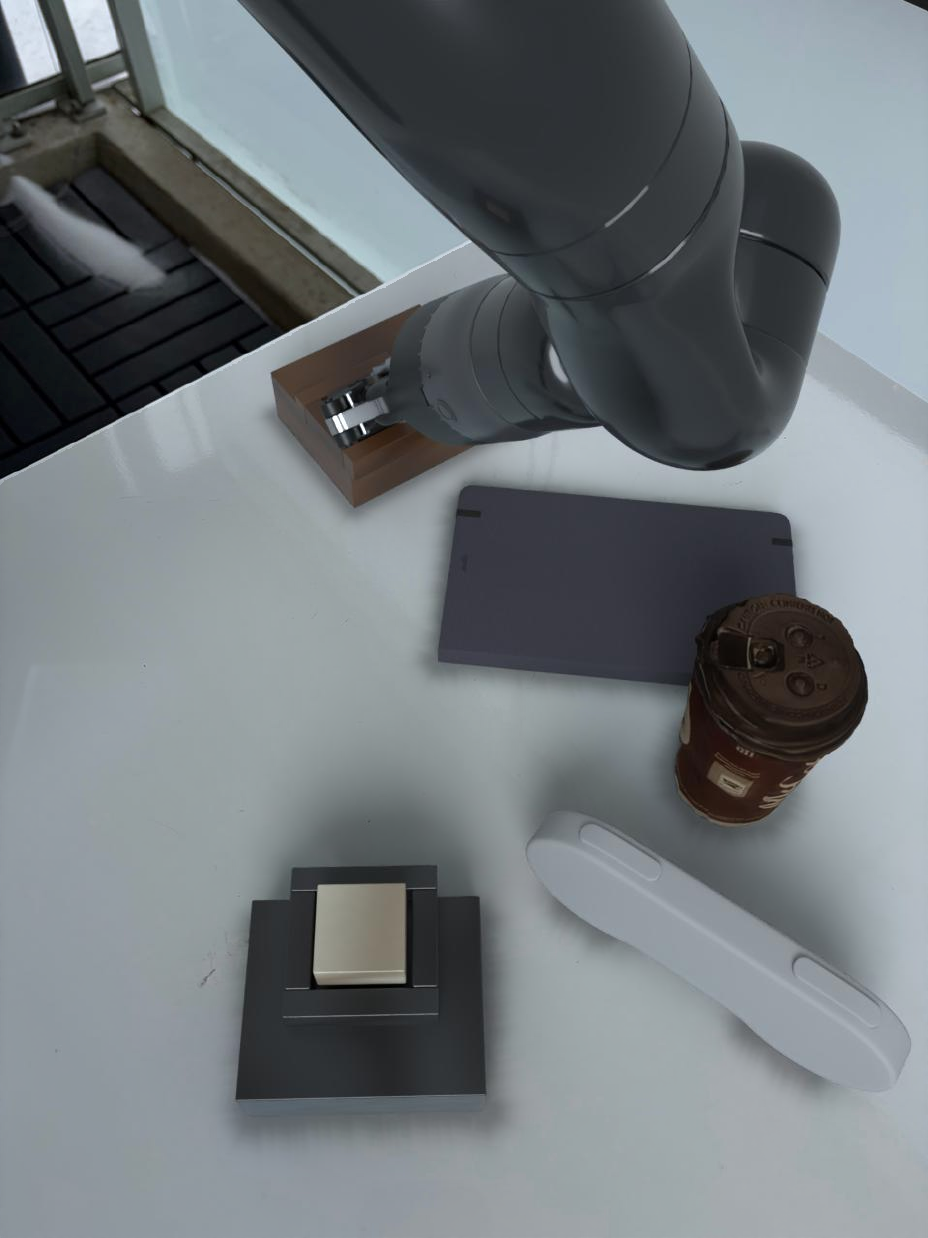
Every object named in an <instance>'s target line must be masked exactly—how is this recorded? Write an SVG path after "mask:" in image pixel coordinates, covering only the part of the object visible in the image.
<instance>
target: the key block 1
mask: <svg viewBox="0 0 928 1238" xmlns="http://www.w3.org/2000/svg"><path fill="white" fill-rule="evenodd" d="M421 306H422V305H421V304H420V303H418V304H416V305H413V306H412V307H409V308H408V309H406V310H404V311H401V312H399V313H396V314H394V315H392V316H390V317H388V318H386V319H383V320H381V321H379V322H377V323H375V324H372V325H369V326H368V327H366V328H364V329H362V330H360V331H357V332H355V333H353V334H351V335H348V336H347V337H345V338H342V339H339V340H338V341H335V342H333V343H330V344H329V345H327V346H325V347H322V348H321V349H318V350H315V351H313V352H311V353H310V354H309V353H308V354H307V355H305V356H302V357H300V358H298V359H296V360H294V361H292V362H290V363H287V364H285V365H283V366H281V367H279V368H276V369H274V370H272V371H271V372H270V373H269V374H270V379H271V385H272V391H273V396H274V401H275V406H276V413H277V417H278V418H279V420H280V421H281V422H282V424H283V425H285V427H286V428H287V429H288V430H289V432H290V433H291V434H292V435H293V437H295V439H296V440H297V441H298V442H299V444H300V445H301V446H302V447H303V449H304V450H305V451H306V452H307V453H308V454H309V456H310V457H311V458H312V459H313V460H314V461H315V463H316V464H317V465H318V466H319V468H320V469H321V470H322V471H323V473H324V474H325V475H326V476H327V478H329V480H330V481H331V482H332V483H333V484H334V486H335V487H336V488H337V489H338V491H339V492H340V493H341V494H342V495H343V497H344V498H345V499H346V500H347V501H348V502H349V504H350V505H351V506H352V507H353V508H354V509H356V508H359V507H360V506H362V505H364V504H366V503H368V502H369V501H372V500H374V499H375V498H377V497H379V496H381V495H383V494H385V493H387V492H389V491H391V490H394V489H395V488H396V487H398V486H400V485H403V484H404V483H406V482H408V481H410V480H412V479H414V478H416V477H418V476H420V475H421V474H424V473H425V472H427V471H429V470H432V469H433V468H435V467H437V466H438V465H441V464H442V463H444V462H446V461H449V460H451V459H452V458H454V457H456V456H458V455H460V454H461V453H464V452H466V451H467V450H470V449H471V448H474V447H475V446H476V445H473V446H450V445H445V444H442V443H439V442H436V441H434V440H432V439H430V438H428V437H426V436H425V435H423V434H422V433H420V432H419V431H418V430H416V429H415V428H414V427H412V426H411V425H410V424H409V423H402V424H398V423H397V424H395V425H393V426H391V427H389V428H387V429H385V430H383V431H381V432H379V433H377V434H375V435H373V436H371V437H369V438H367V439H365V440H363V441H361V442H358V441H355V442H353V443H354V445H352V446H350V447H348V448H345V446H344V447H342V448H338V447H337V445H336V442H335V440H334V438H333V435H332V434H331V432H330V430H329V428H328V426H327V424H326V422H325V419H324V417H323V415H322V412H321V410H320V408H319V406H320V405H321V404H323V403H324V400H326V395H327V394H329V393H332V392H334V391H336V390H338V389H340V388H342V387H344V386H346V385H348V384H350V383H352V382H355V381H357V380H359V379H361V378H363V377H365V376H367V375H369V374H370V373H372V372H373V367H375V366H377V365H379V364H382V363H384V362H385V360H386V359H387V358H389V357H391V352H392V348H393V344H394V341H395V339H396V336H397V334H398V332H399V330H400V329H401V327H402V325H403V324H404V323H405V321H406V320H407V319H408V318H409V317H410V315H411V314H412V313H414V312H415V311H416V310H417V309H418V308H420V307H421Z"/></svg>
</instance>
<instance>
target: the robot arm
mask: <svg viewBox="0 0 928 1238" xmlns="http://www.w3.org/2000/svg"><path fill="white" fill-rule="evenodd" d="M236 1H237V2H238V3H239V4H240V5H241V7H242V8H244V9H245V11H246V12H247V13H248V14H249V15H250V16H251V17H252V18H253V19H254V21H255V22H257V24H259V25H260V26H261V28H262V29H263V30H264V31H265V32H266V33H267V34H268V35H269V36H270V37H271V38H272V39H273V40H274V41H275V43H277V44H278V46H279V47H280V48H282V50H283V51H284V52H285V53H286V54H287V55H288V56H289V58H291V60H292V61H294V63H295V64H296V65H297V66H298V67H299V68H300V70H302V72H303V73H305V75H306V76H307V77H308V78H309V79H310V80H311V81H312V82H313V83H314V85H315V86H316V87H317V88H318V89H319V90H320V91H321V92H322V94H324V96H325V97H326V98H327V99H328V100H329V102H331V103H332V104H333V106H335V107H336V108H337V110H338V111H340V113H341V114H342V115H343V117H345V118H346V119H347V121H348V122H350V124H351V125H352V126H353V127H354V128H355V129H356V131H357V132H359V133H360V134H361V136H363V137H364V138H365V140H367V142H368V143H369V144H370V145H371V146H372V147H373V148H374V149H375V150H376V151H377V152H378V153H379V155H380V156H382V158H383V159H384V160H385V161H387V163H388V164H389V165H390V166H391V167H392V168H393V169H394V170H395V171H396V172H397V173H398V174H399V175H400V176H401V177H402V178H403V179H404V180H405V181H406V182H407V183H408V184H409V186H411V188H413V189H414V190H415V191H416V192H417V193H418V194H419V195H420V196H421V197H422V198H423V199H425V200H426V202H428V203H429V204H430V206H432V208H434V209H435V210H436V211H437V213H439V214H440V215H442V217H443V218H445V219H446V220H447V221H448V223H450V224H452V225H453V227H455V229H457V230H458V231H459V232H460V233H461V234H462V235H463V236H464V237H466V238H467V239H468V240H470V242H472V243H473V244H474V245H475V246H477V248H478V249H479V250H481V251H482V252H483V253H484V254H485V255H487V256H488V258H490V259H492V261H493V262H494V263H496V264H497V265H498V266H499V267H500V268H501V269H502V270H504V271H505V272H506V273H502V274H497V275H493V276H490V277H487V278H485V279H482V280H479V281H477V282H474V283H472V284H469V285H467V286H465V287H462V288H460V289H457V290H455V291H452V292H450V293H448V294H445V295H443V296H440V297H437V298H436V299H433V300H431V301H428V302H426V303H424V304H423V305H421V307H420V308H418V309H417V310H416V311H415V312H414V313H412V314H411V315H410V317H409V318H408V319H407V320H406V321H405V323H404V324H403V325H402V327H401V329H400V330H399V332H398V334H397V336H396V339H395V341H394V344H393V348H392V352H391V357H389V358H387V359H386V360H385V362H384V363H382V364H379V365H377V366H375V367H373V372H372V373H370V374H369V375H367V376H365V377H363V378H361V379H359V380H357V381H355V382H352V383H350V384H348V387H347V388H345V389H344V390H342V391H341V392H339V393H338V394H336V395H335V396H333V397H331V398H328V399H326V400H324V403H323V404H321V405H320V406H319V408H320V410H321V412H322V415H323V417H324V419H325V422H326V424H327V426H328V428H329V430H330V432H331V434H332V435H333V438H334V440H335V442H336V445H337V447H338V448H342V447H344V446H345V448H348V447H350V446H352V445H354V443H353V442H355V441H357V440H358V439H359V438H360V437H362V436H364V435H366V434H368V433H370V429H371V428H372V427H374V426H375V424H377V423H379V424H381V425H384V426H388V425H392V424H395V423H398V424H402V423H409V424H410V425H411V426H412V427H414V428H415V429H416V430H418V431H419V432H420V433H422V434H423V435H425V436H426V437H428V438H430V439H432V440H434V441H436V442H439V443H442V444H445V445H450V446H473V445H475V446H482V445H494V444H503V443H510V442H511V443H512V442H514V443H515V442H523V441H528V440H535V439H538V438H540V437H543V436H546V435H548V434H549V435H550V434H551V433H556V432H557V433H558V432H565V431H566V432H567V431H575V430H587V429H593V428H599V427H602V428H603V429H605V431H607V433H609V434H610V435H611V436H612V437H614V438H615V439H616V440H618V441H619V442H620V443H621V444H623V445H624V446H625V447H627V448H629V449H630V450H632V451H633V452H635V453H637V454H638V455H640V456H643V457H644V458H646V459H649V460H651V461H653V462H656V463H658V464H660V465H663V466H667V467H670V468H674V469H679V470H684V471H693V472H713V471H714V472H715V471H721V470H726V469H731V468H734V467H737V466H740V465H742V464H744V463H746V462H749V461H750V460H752V459H755V458H757V457H758V456H760V455H761V454H762V453H764V452H765V451H766V450H767V449H769V448H770V447H771V446H772V445H773V444H774V443H775V442H776V441H777V440H778V439H779V438H780V436H782V434H783V433H784V432H785V430H786V428H787V427H788V425H789V423H790V421H791V419H792V417H793V415H794V413H795V410H796V407H797V404H798V401H799V398H800V394H801V392H802V387H803V384H804V380H805V375H806V373H807V368H808V364H809V361H810V358H811V353H812V350H813V347H814V343H815V339H816V336H817V332H818V329H819V325H820V321H821V318H822V314H823V311H824V306H825V303H826V299H827V293H828V291H829V288H830V285H831V281H832V277H833V274H834V270H835V267H836V263H837V259H838V254H839V249H840V246H841V233H842V219H841V213H840V212H841V211H840V206H839V203H838V200H837V198H836V195H835V193H834V191H833V189H832V187H831V185H830V183H829V181H828V180H827V178H826V177H824V175H823V174H822V173H821V172H820V171H819V170H818V169H817V168H816V167H815V166H814V165H813V164H812V163H811V162H810V161H808V160H807V159H805V158H804V157H802V156H801V155H799V154H797V153H795V152H792V151H791V150H789V149H786V148H784V147H782V146H779V145H776V144H773V143H768V142H763V141H757V140H743V139H742V140H741V139H740V138H739V134H738V131H737V129H736V126H735V124H734V121H733V119H732V117H731V115H730V113H729V111H728V109H727V106H726V105H725V103H724V101H723V100H722V97H721V96H720V95H719V92H718V90H717V89H716V87H715V85H714V83H713V81H712V80H711V78H710V76H709V75H708V73H707V71H706V69H705V68H704V66H703V64H702V63H701V61H700V59H699V57H698V55H697V54H696V51H695V49H694V48H693V47H692V45H691V43H690V41H689V40H688V38H687V36H686V34H685V33H684V31H683V29H682V27H681V25H680V24H679V22H678V19H677V18H676V17H675V15H674V13H673V11H672V10H671V8H670V6H669V5H668V2H666V0H236ZM473 447H474V446H473Z"/></svg>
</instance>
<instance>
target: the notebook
mask: <svg viewBox="0 0 928 1238" xmlns="http://www.w3.org/2000/svg"><path fill="white" fill-rule="evenodd" d="M455 513H456V514H455V523H454V530H453V536H452V545H451V551H450V560H449V567H448V575H447V582H446V589H445V595H444V604H443V611H442V617H441V618H442V619H441V625H440V633H439V641H438V646H437V662H439V663H446V664H454V665H455V664H456V665H466V666H477V667H487V668H497V669H506V670H507V669H508V670H517V671H528V672H538V673H547V674H548V673H549V674H559V675H570V676H580V677H581V676H582V677H588V678H589V677H590V678H598V679H599V678H601V679H608V680H609V679H610V680H619V681H621V680H622V681H630V682H640V683H650V684H651V683H652V684H661V685H672V686H680V687H681V686H682V687H689V684H690V680H691V676H692V671H693V667H694V661H695V659H696V656H697V644H696V642H695V637H696V636H697V635H698V634H700V631H701V629H702V628H703V624H704V623H705V622H706V621H707V619H706V616H708V615H711V614H713V613H714V612H715V611H717V610H719V609H721V608H723V607H725V606H728V605H730V604H733V603H738V602H742V601H745V600H748V599H750V598H752V597H754V598H757V597H760V595H762V596H764V595H770V596H773V595H775V594H776V593H784V594H789V595H794V596H796V597H797V586H796V575H795V563H794V550H793V548H794V545H793V544H794V543H793V537H792V527H791V522H790V520H789V518H788V517H787V516H786V515H784V513H780V512H775V511H765V510H754V509H753V510H752V509H743V508H731V507H721V506H709V505H699V504H698V505H697V504H686V503H675V502H664V501H655V500H644V499H632V498H620V497H611V496H599V495H589V494H577V493H576V494H575V493H566V492H554V491H544V490H543V491H542V490H534V489H533V490H532V489H523V488H511V487H501V486H500V487H499V486H488V485H478V484H477V485H476V484H472V485H471V484H470V485H469V484H468V485H466V486H464V487H463V488H462V489H460V492H459V495H458V501H457V508H456V511H455Z"/></svg>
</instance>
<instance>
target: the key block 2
mask: <svg viewBox="0 0 928 1238" xmlns="http://www.w3.org/2000/svg"><path fill="white" fill-rule="evenodd" d="M378 883H405V884H406V895H407V955H406V983H405V984H364V985H318V984H317V981H316V979H315V976H314V973H313V965H314V946H315V927H316V907H317V888H318V885H320V884H378ZM438 888H439V887H438V865H437V864H412V865H354V866H353V865H352V866H351V865H349V866H348V865H347V866H346V865H345V866H344V865H343V866H342V865H341V866H294V867H292V868H291V874H290V888H289V889H290V890H289V891H290V893H289V899H252V901H251V907H250V908H251V909H250V920H249V921H250V922H249V933H248V943H247V944H248V945H247V954H246V955H247V957H246V966H245V967H246V968H245V978H244V979H245V980H244V991H243V1003H242V1014H241V1015H242V1016H241V1027H240V1039H239V1050H238V1062H237V1072H236V1073H237V1074H236V1084H235V1085H236V1086H235V1097H234V1098H235V1099H234V1100H235V1102H236V1103H237V1104H238V1106H239V1107H240V1108H241V1109H242V1110H243V1111H244V1112H245V1114H247V1115H248V1117H251V1118H254V1117H255V1118H256V1117H258V1118H259V1117H292V1116H295V1117H296V1116H297V1117H298V1116H336V1115H337V1116H340V1115H341V1116H342V1115H343V1116H344V1115H345V1116H346V1115H381V1114H382V1115H384V1114H387V1115H388V1114H428V1113H429V1114H430V1113H467V1112H469V1113H470V1112H474V1113H475V1112H483V1111H484V1108H485V1103H486V1097H487V1074H486V1044H485V1043H486V1041H485V1012H484V1011H485V1010H484V983H483V954H482V953H483V952H482V951H483V950H482V925H481V924H482V923H481V922H482V921H481V896H479V895H472V896H471V895H469V896H467V895H466V896H465V895H463V896H438V894H439V890H438Z"/></svg>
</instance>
